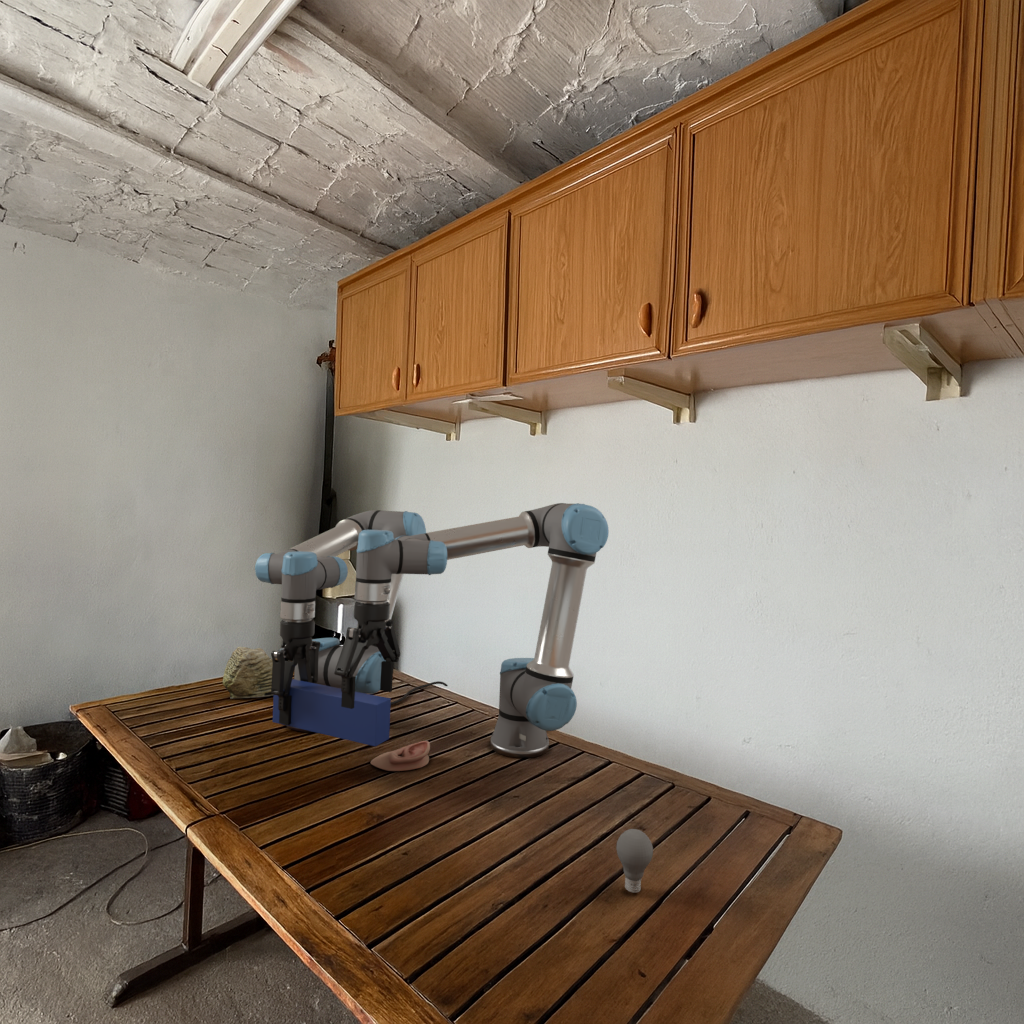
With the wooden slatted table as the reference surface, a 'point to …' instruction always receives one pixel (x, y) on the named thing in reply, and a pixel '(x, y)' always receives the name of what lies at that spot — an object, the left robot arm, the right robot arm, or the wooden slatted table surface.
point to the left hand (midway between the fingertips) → (294, 719)
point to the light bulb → (634, 857)
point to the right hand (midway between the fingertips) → (367, 698)
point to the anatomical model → (404, 757)
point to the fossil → (248, 673)
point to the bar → (337, 713)
